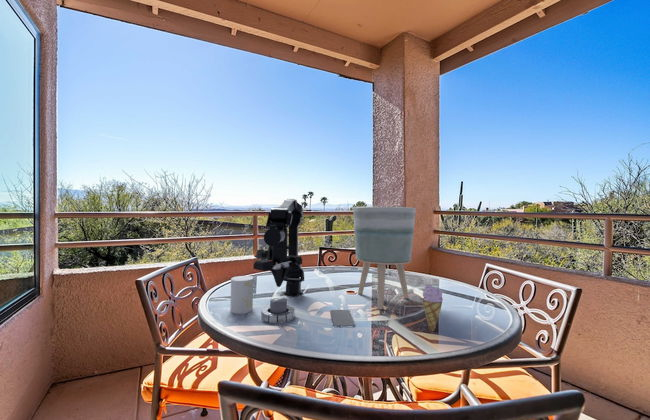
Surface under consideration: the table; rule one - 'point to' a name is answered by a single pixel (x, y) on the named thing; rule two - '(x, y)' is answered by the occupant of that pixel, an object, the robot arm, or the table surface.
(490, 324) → the table surface
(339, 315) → the smartphone
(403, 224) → the planter
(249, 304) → the grey cylinder
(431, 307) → the ice cream cone
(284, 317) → the segmented grey ring
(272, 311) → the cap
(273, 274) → the robot arm
